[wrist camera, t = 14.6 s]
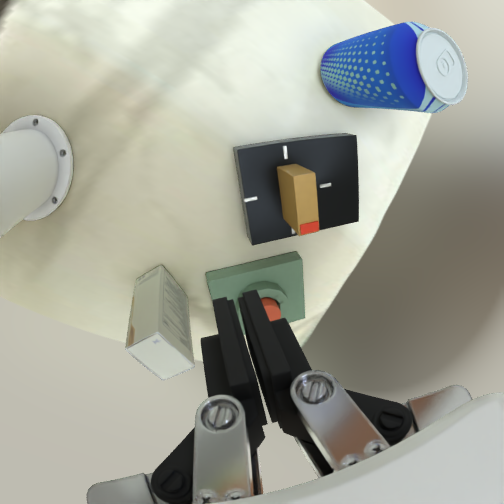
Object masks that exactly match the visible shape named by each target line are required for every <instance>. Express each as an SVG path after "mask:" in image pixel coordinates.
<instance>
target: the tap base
mask: <svg viewBox="0 0 504 504" xmlns="http://www.w3.org/2000/svg"><path fill="white" fill-rule="evenodd" d="M233 149H234V156H235V162H236V168H237V174H238V180H239V186H240V192H241V198H242V205H243V211H244V217H245V223H246V229H247V235H248V238H249V240H250V242H251V244H252V245H256V244H261V243H265V242H270V241H274V240H278V239H283V238H287V237H291V236H296V235H298V234H297V233H296V232H295V231H294V230H293V229H292V227H291V226H290V225H289V224H288V223H287V222H286V221H285V220H284V219H283V212H282V204H281V196H280V188H279V180H278V172H277V167H279V166H285V165H291V164H298V165H300V166H302V167H304V168H306V169H308V170H310V171H313V172H315V176H316V189H317V202H318V217H319V230H322V229H327V228H331V227H336V226H340V225H345V224H349V223H354V222H358V221H359V185H358V155H357V137H356V135H353V134H347V133H342V134H330V135H319V136H309V137H300V138H292V139H284V140H276V141H269V142H263V143H256V144H250V145H244V146H238V147H234V148H233Z"/></svg>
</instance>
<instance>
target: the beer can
mask: <svg viewBox="0 0 504 504" xmlns="http://www.w3.org/2000/svg"><path fill="white" fill-rule="evenodd" d="M321 77H322V80H323V83H324V85H325V87H326V89H327V91H328V92H329V93H330V94H331V96H332V97H333V98H334V99H336V100H337V101H338V102H340V103H342V104H344V105H346V106H349V107H360V108H382V109H396V110H408V111H418V112H426V113H437V112H440V111H442V110H444V109H445V108H447V107H448V106H449V105H454V104H457V103H459V102H460V101H461V100H462V99H463V97H464V95H465V93H466V90H467V85H468V74H467V67H466V63H465V60H464V57H463V55H462V53H461V51H460V49H459V47H458V46H457V44H456V43H455V41H454V40H453V39H452V38H451V37H450V36H449V35H448V34H447V33H445V32H444V31H442V30H439V29H436V28H429V27H427V26H425V25H423V24H420V23H417V22H405V23H400V24H397V25H393V26H389V27H386V28H382V29H379V30H375V31H372V32H369V33H366V34H363V35H360V36H357V37H354V38H351V39H348V40H345V41H343V42H340V43H337V44H335V45H333V46H331V47H330V48H329V49H328V50H327V51H326V52H325V54H324V55H323V58H322V61H321Z"/></svg>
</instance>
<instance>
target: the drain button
mask: <svg viewBox="0 0 504 504" xmlns="http://www.w3.org/2000/svg"><path fill="white" fill-rule="evenodd" d="M260 299H261V301H262V303H263V306H264V308H265V310H266V313H267V315H268V318H269V320H270V321H274V320H277V319H280V318H281V311H280V309H279V307H278V305H277V303H276V301H275V300H273V299H272V298H267V297H265V298H260Z"/></svg>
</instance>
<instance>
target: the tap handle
mask: <svg viewBox="0 0 504 504" xmlns="http://www.w3.org/2000/svg"><path fill="white" fill-rule="evenodd" d="M277 172H278V180H279V188H280V196H281V204H282V212H283V219H284V220H285V221H286V222H287V223H288V224H289V225H290V226H291V227H292V229H293V230H294V231H295V232H296V233H297V234H298V235H299V236H301V235H305V234H309V233H314V232H318V231H319V217H318V202H317V189H316V176H315V172H313V171H310V170H308V169H306V168H304V167H302V166H300V165H298V164H291V165H285V166H279V167H277Z"/></svg>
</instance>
